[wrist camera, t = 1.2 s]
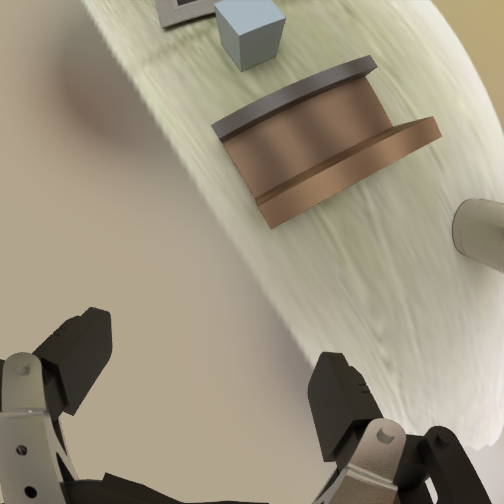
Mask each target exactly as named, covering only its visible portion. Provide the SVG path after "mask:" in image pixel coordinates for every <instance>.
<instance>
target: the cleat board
mask: <svg viewBox="0 0 504 504" xmlns="http://www.w3.org/2000/svg"><path fill="white" fill-rule="evenodd" d="M375 68H377V65H376V63H375V62H374V60H373V59H372V57H371V56H370V55H368V56H365V57H362V58H359V59H356V60H353V61H350V62H347V63H344V64H341V65H338V66H336V67H333V68H330V69H327V70H325V71H322V72H320V73H317V74H315V75H312V76H310V77H307V78H305V79H303V80H300V81H298V82H296V83H293V84H291V85H289V86H286V87H284V88H282V89H280V90H278V91H276V92H273V93H271V94H269V95H267V96H265V97H263V98H261V99H259V100H257V101H255V102H253V103H251V104H249V105H247V106H245V107H243V108H241V109H239V110H237V111H236V112H234V113H232V114H230V115H228V116H226V117H225V118H223V119H221V120H219V121H217V122H216V123H214V124H212V125H211V126H212V128H213V129H214V131H215V133H216V134H217V136H218V138H219V139H220V141H221V142H222V144H223V145H224V147H225V149H226V150H227V152H228V154H229V155H230V157H231V159H232V160H233V162H234V164H235V165H236V167H237V169H238V171H239V172H240V174H241V176H242V177H243V179H244V181H245V182H246V184H247V186H248V188H249V189H250V191H251V193H252V195H253V196H254V198H255V200H256V203H257V205H258V207H259V209H260V211H261V213H262V214H263V216H264V218H265V220H266V221H267V223H268V225H269V227H270V228H271V229H273V228H275V227H277V226H278V225H280V224H282V223H284V222H285V221H287V220H289V219H291V218H293V217H294V216H296V215H298V214H300V213H302V212H304V211H305V210H307V209H309V208H311V207H313V206H314V205H316V204H318V203H320V202H322V201H323V200H325V199H327V198H329V197H331V196H333V195H334V194H336V193H338V192H340V191H342V190H344V189H345V188H347V187H349V186H351V185H353V184H354V183H356V182H358V181H360V180H362V179H364V178H366V177H367V176H369V175H371V174H373V173H375V172H377V171H378V170H380V169H382V168H384V167H386V166H388V165H390V164H391V163H393V162H395V161H397V160H399V159H401V158H403V157H404V156H406V155H408V154H410V153H412V152H414V151H416V150H417V149H419V148H421V147H423V146H425V145H427V144H429V143H431V142H432V141H434V140H436V139H438V138H440V137H442V135H441V133H440V131H439V128H438V126H437V124H436V121H435V119H434V117H433V116H432V117H428V118H424V119H420V120H416V121H412V122H408V123H405V124H401V125H397V126H394V127H393V126H392V124H391V122H390V120H389V118H388V116H387V114H386V112H385V110H384V108H383V107H382V105H381V103H380V101H379V99H378V98H377V96H376V94H375V92H374V91H373V89H372V87H371V86H370V84H369V82H368V81H367V79H366V77H365V76H366V75H367V74H369V73H370V72H371V71H373V70H374V69H375Z"/></svg>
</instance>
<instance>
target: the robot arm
mask: <svg viewBox="0 0 504 504" xmlns="http://www.w3.org/2000/svg"><path fill="white" fill-rule="evenodd" d="M453 239H454V243H455V246H456V248H457V249H458V251H459V252H460V253H462V254H464V255H466V256H469V257H471V258H473V259H475V260H477V261H479V262H481V263H483V264H485V265H487V266H489V267H491V268H493V269H495V270H497V271H499V272H501V273H503V274H504V203H499V202H495V201H490V200H485V199H481V200H476V199H469V200H466V201H465V202H464V203H463V204H462V205H461V206H460V207H459V209H458V211H457V213H456V215H455V219H454V223H453ZM111 353H112V332H111V315H110V313H109V312H108V311H104V310H101V309H98V308H94V307H90V308H89V309H88V310H87V311H85V313H83V314H82V315H81V316H75V317H73V318H70V319H68V320H66V321H65V322H64V323H63V324H62V325H61V326H60V327H59V329H57V330H56V331H54V332H53V334H52V335H50V336H49V337H48V338H47V339H46V340H45V341H44V342H43V343H42V344H41V345H40V346H39V347H38V348H37V349H36V350H35V351H34V352H33V353H32V354H31V353H25V352H20V353H15V354H13V355H11V356H10V357H8V358H7V359H6V361H5V360H1V359H0V484H1V490H2V494H3V499H4V503H2V504H269V503H254V502H253V503H252V502H238V501H219V502H205V503H183V502H180V501H177V500H175V499H173V498H170V497H168V496H165V495H164V494H161V493H159V492H157V491H155V490H153V489H151V488H149V487H147V486H145V485H143V484H139V483H136V482H132V481H129V480H126V479H123V478H119V477H117V476H114V475H111V474H109V473H105V475H104V478H103V480H91V479H86V480H79V478H78V476H77V474H76V471H75V469H74V467H73V465H72V462H71V459H70V456H69V452H68V449H67V446H66V442H65V438H64V434H63V430H62V426H61V421H60V418H59V416H60V415H61V413H62V411H63V412H66V413H68V414H70V415H72V416H74V414H75V413H76V411H77V409H78V408H79V406H80V404H81V403H82V401H83V400H84V398H85V396H86V395H87V393H88V392H89V390H90V388H91V387H92V385H93V384H94V382H95V381H96V379H97V377H98V376H99V374H100V373H101V371H102V370H103V368H104V367H105V365H106V364H107V362H108V361H109V359H110V356H111ZM308 399H309V403H310V407H311V411H312V415H313V419H314V423H315V427H316V431H317V435H318V439H319V443H320V447H321V451H322V456H323V460H324V462H334V461H336V464H337V467H336V469H335V470H334V471H333V473H332V474H331V476H330V477H329V479H328V481H327V482H326V484H325V485H324V487H323V488H322V489H321V491H320V492H319V494H318V496H317V497H316V498H315V499H314V501H313V502H312V504H433V502H432V499H431V496H430V493H429V491H428V488H427V486H426V483H425V481H426V480H427V479H428V478H429V477H431V480H432V482H433V485H434V487H435V489H436V492H437V495H438V500H437V503H436V504H492V503H491V501H490V499H489V497H488V495H487V493H486V490H485V488H484V487H483V484H482V483H481V480H480V479H479V477H478V475H477V473H476V471H475V469H474V467H473V465H472V464H471V462H470V460H469V458H468V456H467V455H466V453H465V451H464V449H463V447H462V446H461V444H460V442H459V440H458V439H457V437H456V435H455V434H454V433H453V432H452V431H451V430H449V429H448V428H446V427H443V426H434V427H431V428H430V429H429V430H428V431H427V433H426V434H425V435H424V436H417V435H408V434H405V431H404V429H403V428H402V427H401V426H400V425H399V424H398V423H396V422H395V421H392V420H390V419H385V418H384V417H383V415H382V413H381V411H380V409H379V407H378V405H377V403H376V401H375V399H374V398H373V396H372V394H371V393H370V390H369V388H368V386H366V382H365V380H364V378H363V376H362V375H361V374H360V373H359V372H358V371H357V370H356V369H355V368H354V367H353V366H349V365H348V363H347V361H346V359H345V357H344V355H343V354H342V353H333V352H322V353H321V355H320V357H319V359H318V362H317V364H316V367H315V369H314V372H313V374H312V377H311V379H310V382H309V385H308Z"/></svg>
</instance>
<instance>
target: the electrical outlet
mask: <svg viewBox="0 0 504 504" xmlns="http://www.w3.org/2000/svg"><path fill="white" fill-rule="evenodd" d="M155 1H156V6H157V10H158V15H159V19H160V24H161V28H162V29H163V28H165V27H168V26H171V25H174V24H177V23H180V22H183V21H187V20H190V19H193V18H197V17H200V16H204V15H208V14H212V13H215V8H214V4H216V3H218V2H220V1H223V0H155Z"/></svg>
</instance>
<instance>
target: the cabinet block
mask: <svg viewBox="0 0 504 504" xmlns="http://www.w3.org/2000/svg"><path fill="white" fill-rule="evenodd" d="M214 8H215V13H216V18H217V23H218V29H219V34H220V39H221V44H222V46H223V47H224V49H225V50H226V51H227V53H228V54H229V56H230V57H231V58H232V60H233V61H234V63H235V64H236V66H237V67H238V68H239V70H240V71H241V72H242V71H244V70H246V69H248V68H250V67H252V66H255V65H257V64H259V63H261V62H264V61H266V60H268V59H270V58H273V57H275V56H276V54H277V50H278V46H279V42H280V39H281V35H282V31H283V27H284V24H285V20H286V17H285V16H284V15H283V13H282V12H281V11H280V10H279V9H278V8H277V6H276V5H275V4H274V3H273V2H272V1H271V0H223V1H220V2H218V3H216V4H214Z"/></svg>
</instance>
